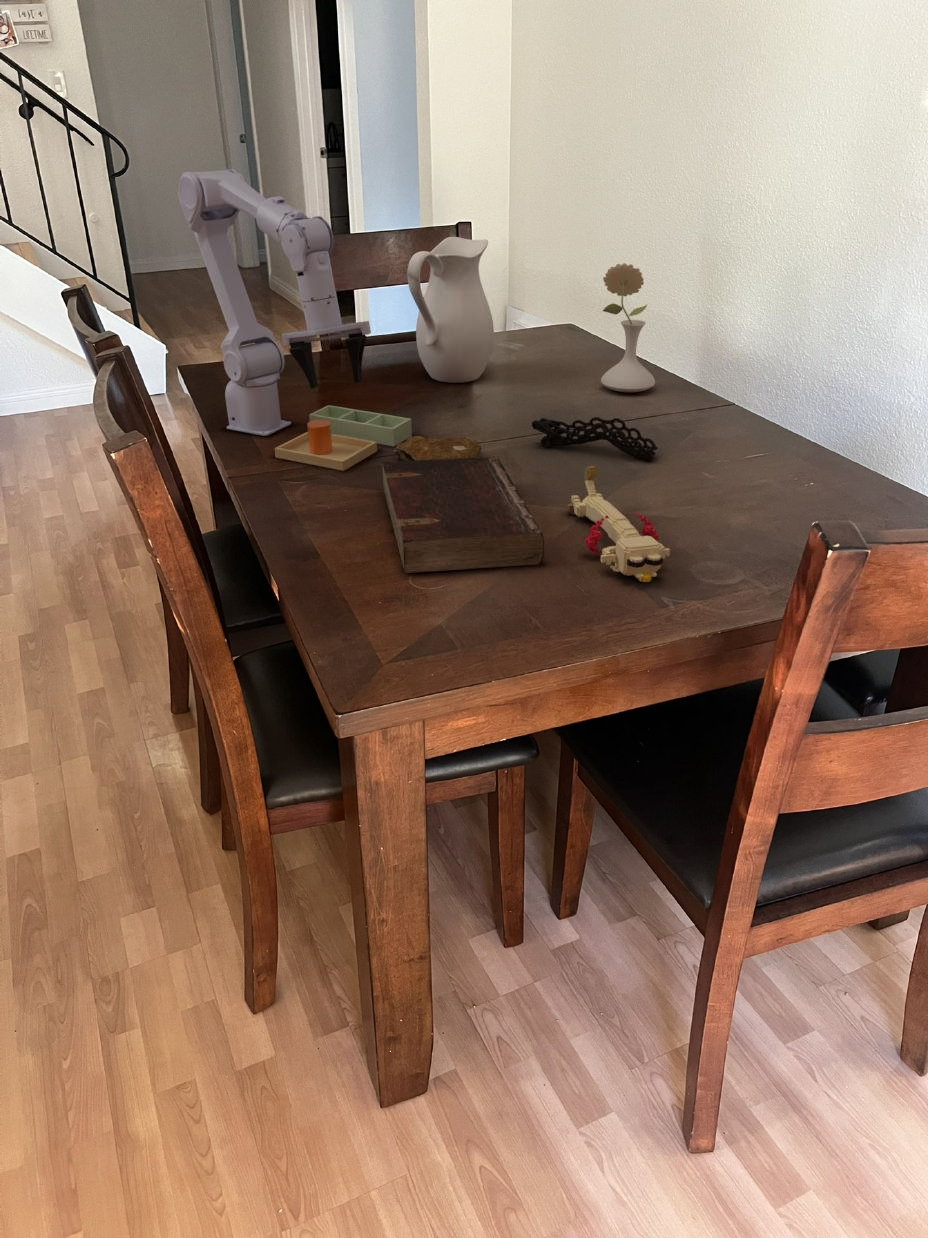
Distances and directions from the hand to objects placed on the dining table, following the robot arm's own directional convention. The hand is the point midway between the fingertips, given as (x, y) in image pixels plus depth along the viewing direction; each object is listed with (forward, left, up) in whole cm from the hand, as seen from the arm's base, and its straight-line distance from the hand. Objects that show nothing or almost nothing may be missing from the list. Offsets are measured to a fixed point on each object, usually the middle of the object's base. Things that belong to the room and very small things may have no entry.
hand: (336, 384), depth 150 cm
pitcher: (-6, +50, -13) cm, 52 cm away
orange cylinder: (-4, -1, -12) cm, 13 cm away
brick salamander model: (+54, -13, -13) cm, 57 cm away
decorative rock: (+17, +5, -13) cm, 21 cm away
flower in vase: (+31, +61, -13) cm, 70 cm away
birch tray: (-3, 0, -13) cm, 13 cm away
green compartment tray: (-3, +11, -13) cm, 17 cm away
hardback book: (+31, -16, -13) cm, 37 cm away
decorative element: (+38, +22, -13) cm, 46 cm away
